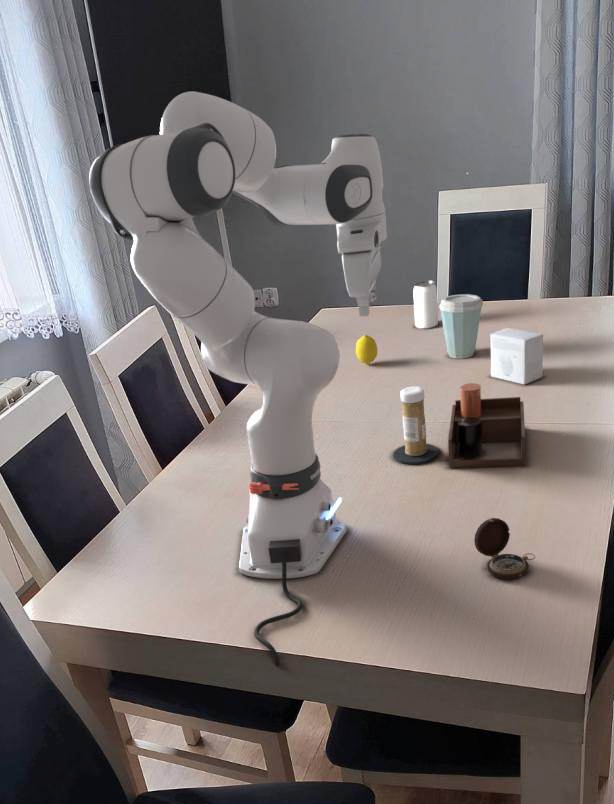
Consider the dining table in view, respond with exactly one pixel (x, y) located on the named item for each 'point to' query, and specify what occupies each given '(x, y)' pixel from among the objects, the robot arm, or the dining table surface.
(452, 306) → the disposable coffee cup
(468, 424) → the black spice tin
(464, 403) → the terracotta spice jar
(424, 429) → the sprinkles bottle
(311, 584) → the dining table surface
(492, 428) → the spice rack
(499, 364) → the cosmetics box
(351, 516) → the dining table surface
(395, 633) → the dining table surface
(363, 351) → the lemon
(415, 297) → the can
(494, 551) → the compass
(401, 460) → the coaster
